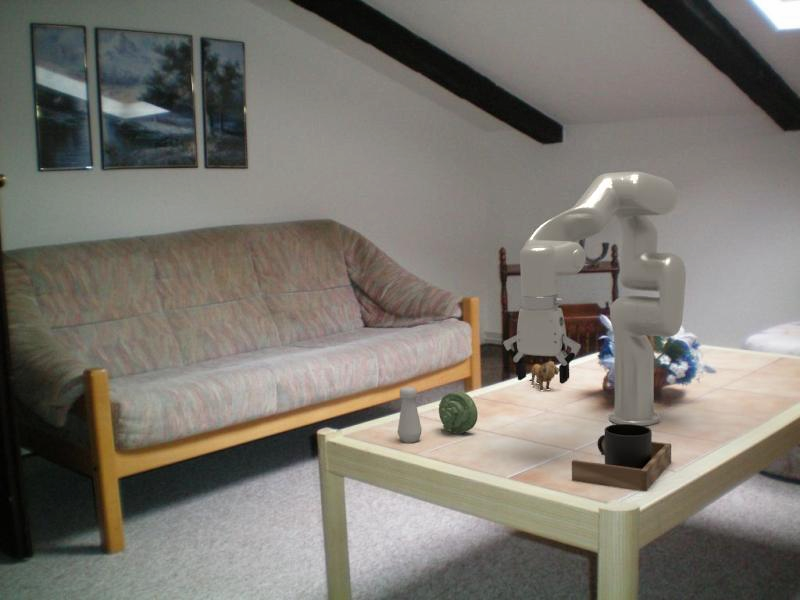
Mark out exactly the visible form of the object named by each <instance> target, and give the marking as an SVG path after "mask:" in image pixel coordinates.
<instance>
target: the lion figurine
mask: <svg viewBox="0 0 800 600" xmlns="http://www.w3.org/2000/svg"><path fill="white" fill-rule="evenodd" d="M530 373H531V379H529V380H528V381H532V382H530V384H531V385H535V383H536V382H537V383H539V384H538V385H539V390H543V389H544V383H545V384H546V385H545V389H551V390H552V388H550V383H551V381H552V379H554V378H555V375H559V367H557V366H556V365H555V362H554V361H547V362H545V363H543V364H539V363H536V364H533V366H532V368H531V372H530ZM535 379H536V380H535ZM535 381H536V382H535ZM531 385H530V386H531Z"/></svg>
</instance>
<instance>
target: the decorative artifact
mask: <svg viewBox="0 0 800 600" xmlns="http://www.w3.org/2000/svg"><path fill="white" fill-rule="evenodd" d="M438 415H439V418H440V421H441V424H442V428H444V429H445V430H447V431H448V432H451V433H453V434H456V433H458V434H459V435H460V434H463V433H467V432H468V431H470V430H472V429H473V428H474V427H475V425H476V424H477V421H478V409H477V405H476V402H475V401H474V399H473V398H472V397H471V395H469V394H468V393H466V392H464V391H454V392H450V393H448V394H446V395H444V396H443V397H442V398H441V399H440V401H439V404H438ZM458 434H457V435H458Z"/></svg>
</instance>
